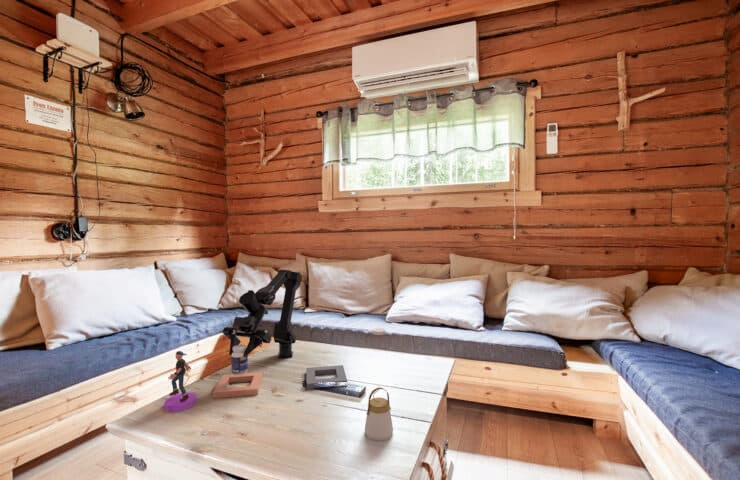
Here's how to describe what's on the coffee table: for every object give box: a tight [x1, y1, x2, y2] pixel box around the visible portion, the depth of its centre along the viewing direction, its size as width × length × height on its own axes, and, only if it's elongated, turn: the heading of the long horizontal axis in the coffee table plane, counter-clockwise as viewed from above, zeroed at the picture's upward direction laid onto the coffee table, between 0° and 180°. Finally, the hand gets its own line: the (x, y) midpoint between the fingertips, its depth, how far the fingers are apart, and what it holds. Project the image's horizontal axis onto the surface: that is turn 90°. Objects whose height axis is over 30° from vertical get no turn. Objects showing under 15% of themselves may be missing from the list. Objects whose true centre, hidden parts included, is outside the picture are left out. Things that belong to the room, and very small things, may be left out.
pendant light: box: [364, 327, 394, 442], centre depth 101 cm, size 8×8×30 cm
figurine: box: [164, 350, 197, 413], centre depth 117 cm, size 9×9×18 cm
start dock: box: [305, 364, 348, 390], centre depth 137 cm, size 15×15×2 cm
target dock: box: [212, 371, 264, 399], centre depth 131 cm, size 15×15×2 cm
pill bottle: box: [230, 344, 249, 376], centre depth 130 cm, size 6×6×10 cm
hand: (237, 355), depth 129 cm, fingers closed on pill bottle, 6 cm apart
